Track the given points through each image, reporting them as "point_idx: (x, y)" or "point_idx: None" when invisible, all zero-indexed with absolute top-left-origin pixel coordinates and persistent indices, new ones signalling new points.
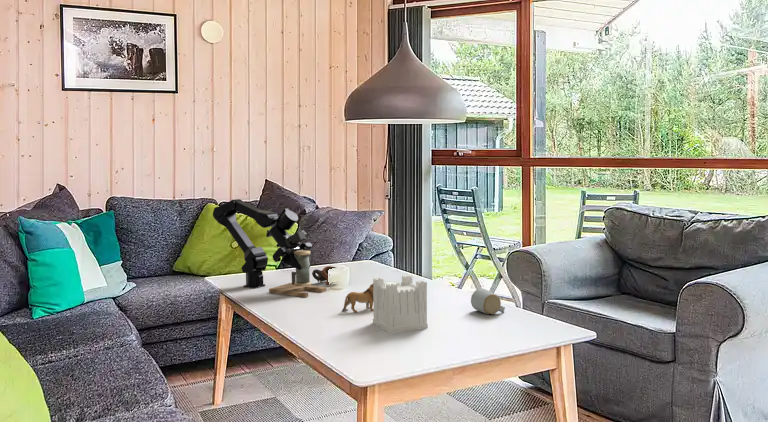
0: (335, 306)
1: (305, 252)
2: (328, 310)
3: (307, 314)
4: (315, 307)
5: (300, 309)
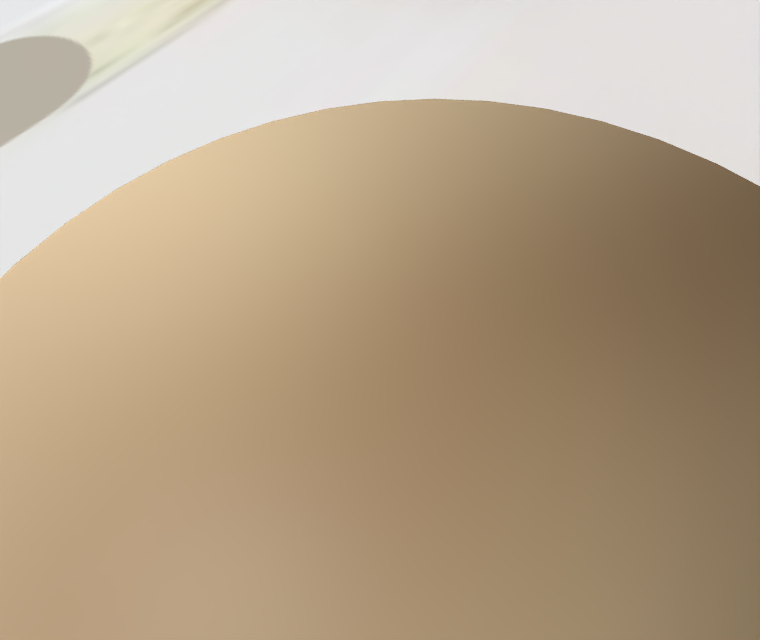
0: (484, 51)
1: (479, 130)
2: (577, 12)
3: (738, 9)
4: (613, 94)
5: (736, 107)
